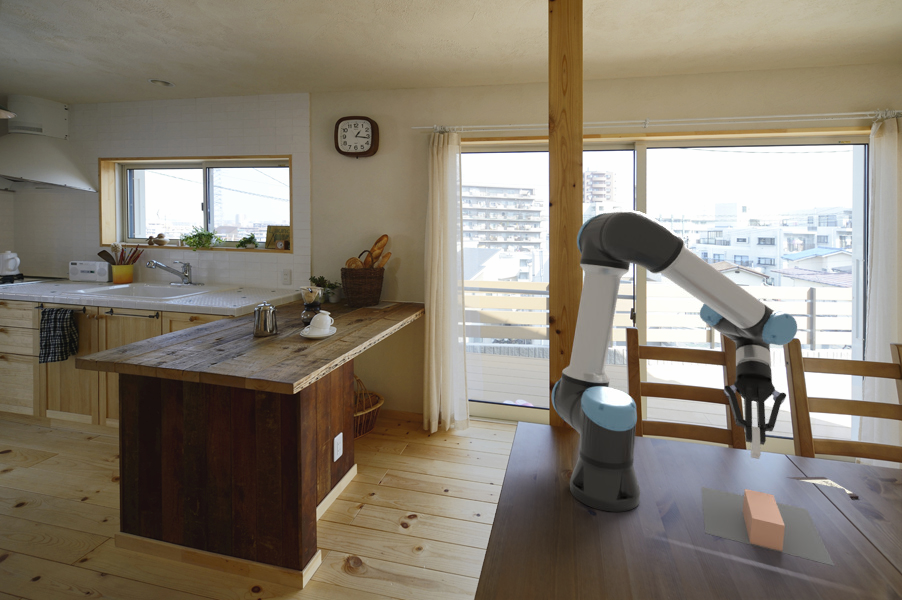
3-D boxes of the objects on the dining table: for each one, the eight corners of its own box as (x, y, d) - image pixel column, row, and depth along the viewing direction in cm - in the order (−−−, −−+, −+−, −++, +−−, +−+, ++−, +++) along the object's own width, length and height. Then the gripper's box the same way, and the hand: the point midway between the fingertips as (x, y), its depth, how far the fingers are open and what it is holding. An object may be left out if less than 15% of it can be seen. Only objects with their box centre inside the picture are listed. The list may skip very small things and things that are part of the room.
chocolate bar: (754, 478, 112) (824, 476, 113) (754, 481, 112) (823, 480, 113) (783, 497, 103) (858, 496, 104) (783, 501, 103) (858, 500, 104)
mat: (704, 535, 90) (705, 532, 90) (701, 488, 107) (701, 486, 107) (834, 568, 81) (834, 565, 81) (806, 511, 98) (806, 509, 98)
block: (742, 511, 97) (750, 543, 87) (744, 488, 97) (752, 518, 86) (770, 517, 95) (782, 551, 84) (773, 494, 95) (784, 525, 84)
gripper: (781, 378, 116) (787, 468, 103) (722, 371, 122) (721, 456, 109) (787, 362, 111) (794, 455, 98) (725, 356, 117) (724, 443, 104)
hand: (755, 455), depth 104 cm, fingers closed
